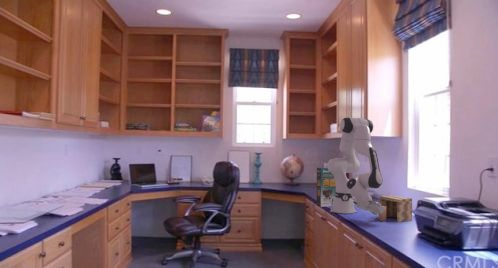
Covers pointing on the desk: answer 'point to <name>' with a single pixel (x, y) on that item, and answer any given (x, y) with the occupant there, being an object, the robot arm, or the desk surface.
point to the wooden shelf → (397, 207)
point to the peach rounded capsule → (382, 215)
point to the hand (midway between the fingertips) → (375, 214)
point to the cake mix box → (325, 187)
